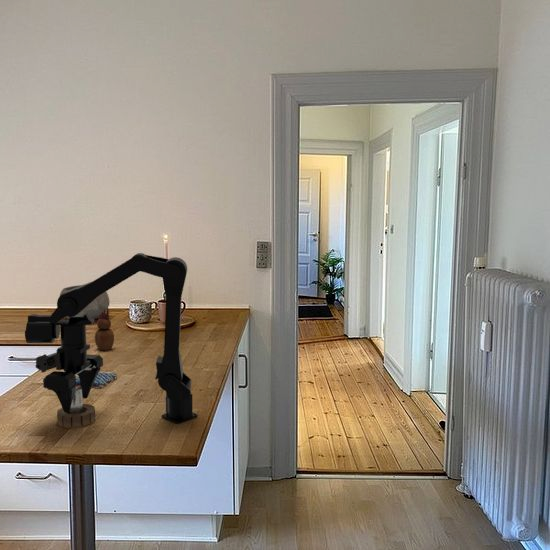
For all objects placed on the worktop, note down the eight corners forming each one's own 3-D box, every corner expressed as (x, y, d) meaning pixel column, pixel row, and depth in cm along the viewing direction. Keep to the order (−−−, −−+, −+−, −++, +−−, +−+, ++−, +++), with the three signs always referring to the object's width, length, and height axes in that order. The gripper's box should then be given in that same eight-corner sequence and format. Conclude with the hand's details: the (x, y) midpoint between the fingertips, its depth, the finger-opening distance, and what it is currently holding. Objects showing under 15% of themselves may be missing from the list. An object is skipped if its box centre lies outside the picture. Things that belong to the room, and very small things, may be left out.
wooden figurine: (117, 349, 198) (116, 308, 196) (102, 352, 194) (101, 310, 192) (107, 346, 202) (106, 305, 200) (92, 349, 198) (91, 307, 196)
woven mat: (119, 379, 168) (119, 372, 168) (102, 390, 158) (102, 383, 157) (87, 376, 170) (87, 370, 169) (68, 388, 159) (68, 381, 159)
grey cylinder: (85, 420, 135) (84, 388, 134) (74, 424, 133) (73, 392, 132) (78, 417, 137) (77, 386, 136) (67, 420, 135) (66, 389, 134)
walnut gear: (102, 419, 136) (101, 409, 135) (69, 430, 129) (69, 420, 129) (82, 411, 141) (82, 401, 141) (50, 421, 135) (50, 410, 134)
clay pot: (55, 326, 231) (54, 291, 229) (62, 316, 251) (61, 283, 249) (108, 324, 236) (107, 289, 234) (111, 314, 256) (110, 282, 254)
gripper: (61, 331, 143) (64, 389, 145) (19, 351, 124) (22, 417, 126) (103, 333, 141) (104, 392, 143) (66, 353, 123) (69, 420, 125)
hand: (76, 404), depth 135 cm, fingers open, 9 cm apart
